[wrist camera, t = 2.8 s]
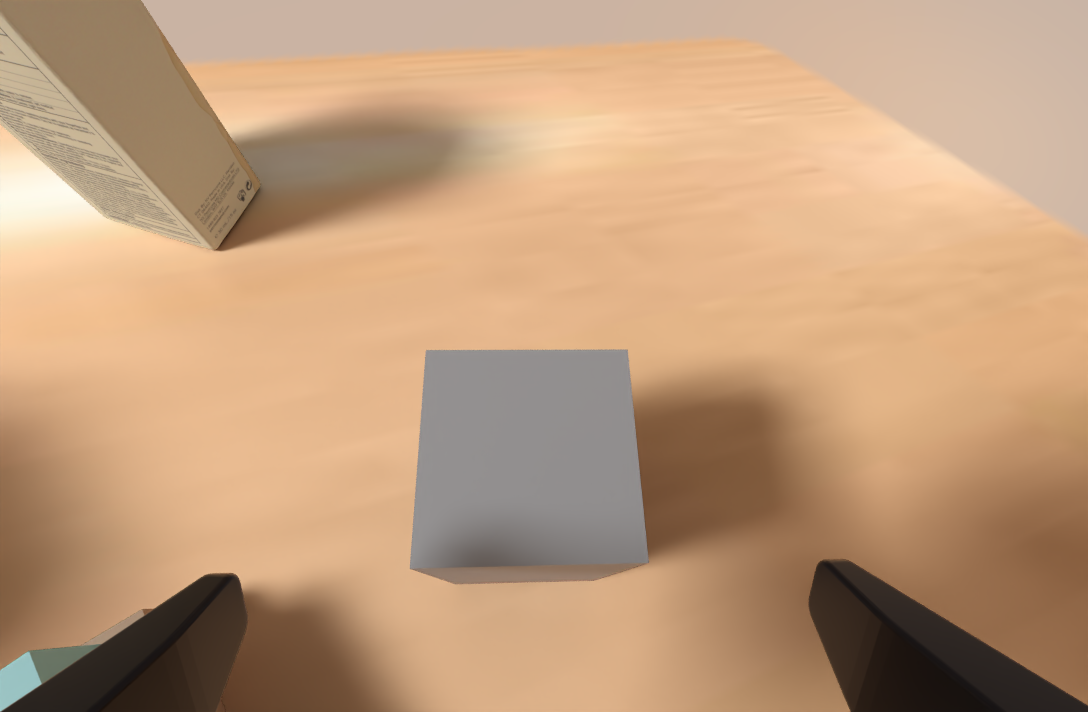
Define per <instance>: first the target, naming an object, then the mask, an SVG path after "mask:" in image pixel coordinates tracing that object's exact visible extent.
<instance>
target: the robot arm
mask: <svg viewBox="0 0 1088 712" xmlns="http://www.w3.org/2000/svg"><path fill="white" fill-rule="evenodd" d="M809 610H810V614H811V617H812V620H813V622H814V625H815V627H816V629H817V632H818V634H819V637H820V639H821V642H822V644H823V646H824V649H825V651H826V654H827V656H828V659H829V661H830V663H831V666H832V668H833V671H834V673H835V676H836V678H837V681H838V683H839V685H840V688H841V690H842V693H843V695H844V698H845V700H846V702H847V704H848V707H849V709H850V711H851V712H1088V705H1086V704H1084V703H1083V702H1081V701H1079V700H1078V699H1076V698H1075V697H1073V696H1071V695H1070V694H1068V693H1066V692H1065V691H1063V690H1061V689H1060V688H1058V687H1056V686H1055V685H1053V684H1052V683H1050V682H1048V681H1047V680H1045V679H1043V678H1042V677H1040V676H1038V675H1037V674H1035V673H1033V672H1032V671H1030V670H1028V669H1027V668H1025V667H1024V666H1022V665H1020V664H1019V663H1017V662H1015V661H1014V660H1012V659H1010V658H1009V657H1007V656H1005V655H1004V654H1002V653H1000V652H999V651H997V650H996V649H994V648H992V647H991V646H989V645H987V644H986V643H984V642H982V641H981V640H979V639H977V638H976V637H974V636H972V635H971V634H969V633H968V632H966V631H964V630H963V629H961V628H959V627H958V626H956V625H954V624H953V623H951V622H949V621H948V620H946V619H945V618H943V617H941V616H940V615H938V614H936V613H935V612H933V611H931V610H930V609H928V608H926V607H925V606H923V605H921V604H920V603H918V602H917V601H915V600H913V599H912V598H910V597H908V596H907V595H905V594H903V593H902V592H900V591H898V590H897V589H895V588H893V587H892V586H890V585H889V584H887V583H885V582H884V581H882V580H880V579H879V578H877V577H875V576H874V575H872V574H870V573H869V572H867V571H865V570H864V569H862V568H861V567H859V566H857V565H856V564H854V563H852V562H850V561H848V560H845V559H828V560H822V561H820V562H819V563H818V565H817V567H816V571H815V575H814V579H813V584H812V588H811V592H810V596H809ZM247 622H248V615H247V609H246V605H245V601H244V596H243V592H242V588H241V583H240V580H239V578H238V576H237V575H236V574H233V573H212V574H207V575H204V576H203V577H201V578H199V579H198V580H196V581H195V582H193V583H192V584H190V585H189V586H187V587H186V588H184V589H183V590H181V591H180V592H178V593H177V594H175V595H174V596H172V597H171V598H169V599H168V600H166V601H165V602H163V603H162V604H160V605H159V606H158V607H156V608H155V609H153V610H152V611H150V612H149V613H147V614H146V615H144V616H143V617H141V618H140V619H138V620H137V621H135V622H134V623H132V624H131V625H129V626H128V627H126V628H125V629H123V630H122V631H120V632H119V633H117V634H116V635H114V636H113V637H111V638H110V639H108V640H107V641H105V642H104V643H102V644H101V645H99V646H98V647H96V648H95V649H93V650H92V651H90V652H89V653H87V654H86V655H84V656H83V657H81V658H80V659H78V660H77V661H75V662H74V663H72V664H71V665H69V666H68V667H66V668H65V669H63V670H62V671H60V672H59V673H57V674H56V675H54V676H53V677H51V678H50V679H48V680H47V681H45V682H44V683H42V684H41V685H39V686H38V687H36V688H35V689H33V690H32V691H30V692H29V693H27V694H26V695H24V696H23V697H21V698H20V699H18V700H17V701H15V702H14V703H12V704H11V705H9V706H8V707H6V708H5V709H3V710H2V711H0V712H216V711H217V708H218V705H219V703H220V700H221V697H222V695H223V692H224V689H225V686H226V684H227V681H228V678H229V675H230V673H231V670H232V667H233V665H234V662H235V659H236V656H237V654H238V651H239V648H240V645H241V643H242V640H243V637H244V635H245V632H246V628H247Z"/></svg>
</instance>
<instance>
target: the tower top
mask: <svg viewBox="0 0 1088 712" xmlns="http://www.w3.org/2000/svg"><path fill="white" fill-rule="evenodd" d="M99 645H101V644H95V645H85V646H74V647H64V648H53V649H43V650H32V651H28V652H26V653H25V654H23V655H22V656H20V657H19V658H17V659H16V660H15V661H13V662H12V663H10V664H9V665H7V666H6V667H4V668H3V669H1V670H0V711H2V710H3V709H5V708H6V707H8V706H9V705H11V704H12V703H14V702H15V701H17V700H18V699H20V698H21V697H23V696H24V695H26V694H27V693H29V692H30V691H32V690H33V689H35V688H36V687H38V686H39V685H41V684H42V683H44V682H45V681H47V680H48V679H50V678H51V677H53V676H54V675H56V674H57V673H59V672H60V671H62V670H63V669H65V668H66V667H68V666H69V665H71V664H72V663H74V662H75V661H77V660H78V659H80V658H81V657H83V656H84V655H86V654H87V653H89V652H90V651H92V650H93V649H95V648H96V647H98V646H99Z"/></svg>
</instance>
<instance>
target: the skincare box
mask: <svg viewBox="0 0 1088 712" xmlns="http://www.w3.org/2000/svg"><path fill="white" fill-rule="evenodd" d="M0 125H2V126H3V127H4V128H5V129H6V130H7V131H8V132H9V133H11V134H12V135H13V136H14V137H15V138H16V139H17V140H18V141H20V142H21V143H22V144H23V145H24V146H25V147H26V148H27V149H28V150H30V151H31V152H32V153H33V154H34V155H35V156H36V157H38V158H39V159H40V160H41V161H42V162H43V163H44V164H45V165H47V166H48V167H49V168H50V169H51V170H52V171H53V172H54V173H56V174H57V175H58V176H59V177H60V178H61V179H62V180H63V181H65V182H66V183H67V184H68V185H69V186H70V187H71V188H72V189H74V190H75V191H76V192H77V193H78V194H79V195H80V196H81V197H82V198H84V199H85V200H86V201H87V202H88V203H89V204H90V205H91V206H93V207H94V208H95V209H96V210H97V211H98V212H99V213H100V214H102V215H103V216H104V217H106V218H108V219H111V220H114V221H117V222H121V223H123V224H126V225H129V226H132V227H136V228H139V229H142V230H145V231H149V232H152V233H155V234H159V235H162V236H165V237H168V238H172V239H175V240H178V241H182V242H185V243H189V244H192V245H196V246H200V247H204V248H207V249H211V250H215V249H217V248H218V247H219V245H220V244H221V242H222V241H223V239H224V238H225V237H226V235H227V234H228V233H229V231H230V230H231V228H232V227H233V225H234V224H235V223H236V221H237V220H238V218H239V217H240V215H241V214H242V212H243V211H244V210H245V208H246V207H247V205H248V204H249V202H250V201H251V199H252V198H253V196H254V195H255V193H256V192H257V190H258V189H259V187H260V185H261V184H260V181H259V180H258V178H257V177H256V175H255V174H254V172H253V171H252V169H251V167H250V166H249V164H248V163H247V161H246V160H245V158H244V157H243V155H242V154H241V152H240V151H239V149H238V148H237V146H236V145H235V143H234V141H233V140H232V138H231V137H230V136H229V134H228V132H227V131H226V129H225V128H224V126H223V125H222V123H221V122H220V120H219V119H218V117H217V116H216V114H215V113H214V111H213V110H212V108H211V107H210V105H209V103H208V102H207V100H206V99H205V97H204V96H203V94H202V93H201V91H200V90H199V88H198V87H197V85H196V83H195V82H194V80H193V79H192V77H191V76H190V74H189V73H188V71H187V70H186V68H185V67H184V65H183V64H182V62H181V61H180V59H179V58H178V56H177V55H176V53H175V52H174V50H173V48H172V47H171V45H170V44H169V43H168V41H167V39H166V38H165V36H164V35H163V33H162V32H161V30H160V29H159V27H158V26H157V24H156V22H155V21H154V19H153V18H152V16H151V15H150V13H149V12H148V10H147V9H146V7H145V6H144V4H143V3H142V1H141V0H0Z"/></svg>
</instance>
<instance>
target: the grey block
mask: <svg viewBox="0 0 1088 712" xmlns="http://www.w3.org/2000/svg"><path fill="white" fill-rule="evenodd" d="M647 563H649V560H648V550H647V540H646V530H645V520H644V510H643V500H642V490H641V480H640V470H639V460H638V450H637V440H636V430H635V420H634V410H633V400H632V390H631V380H630V370H629V360H628V350H426V357H425V370H424V384H423V397H422V411H421V424H420V438H419V452H418V465H417V479H416V492H415V506H414V519H413V533H412V546H411V560H410V569H412V570H415V571H418V572H421V573H424V574H427V575H430V576H433V577H436V578H439V579H442V580H445V581H447V582H450V583H453V584H480V583H519V582H558V581H594V580H597V579H600V578H603V577H606V576H610V575H613V574H616V573H619V572H622V571H625V570H628V569H631V568H635V567H638V566H641V565H644V564H647Z"/></svg>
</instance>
